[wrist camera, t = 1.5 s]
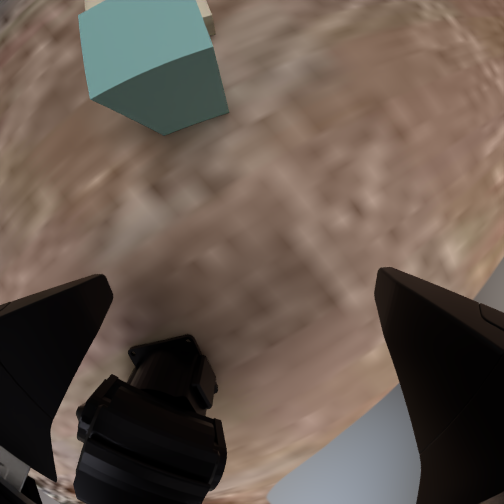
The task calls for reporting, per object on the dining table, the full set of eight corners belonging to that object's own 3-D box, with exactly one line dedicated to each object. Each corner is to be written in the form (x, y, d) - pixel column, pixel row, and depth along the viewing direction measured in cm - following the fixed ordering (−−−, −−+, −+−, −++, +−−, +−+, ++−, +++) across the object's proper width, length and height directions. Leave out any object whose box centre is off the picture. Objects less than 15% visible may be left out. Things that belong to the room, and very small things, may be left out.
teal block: (164, 135, 19) (90, 99, 8) (148, 80, 18) (78, 15, 7) (229, 112, 19) (213, 46, 8) (210, 56, 18) (183, -32, 7)
